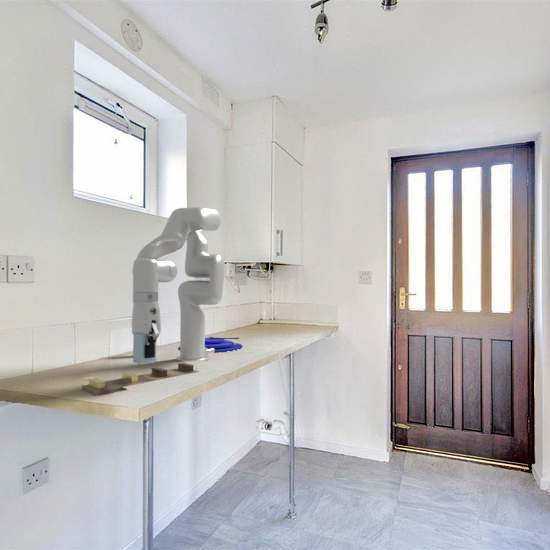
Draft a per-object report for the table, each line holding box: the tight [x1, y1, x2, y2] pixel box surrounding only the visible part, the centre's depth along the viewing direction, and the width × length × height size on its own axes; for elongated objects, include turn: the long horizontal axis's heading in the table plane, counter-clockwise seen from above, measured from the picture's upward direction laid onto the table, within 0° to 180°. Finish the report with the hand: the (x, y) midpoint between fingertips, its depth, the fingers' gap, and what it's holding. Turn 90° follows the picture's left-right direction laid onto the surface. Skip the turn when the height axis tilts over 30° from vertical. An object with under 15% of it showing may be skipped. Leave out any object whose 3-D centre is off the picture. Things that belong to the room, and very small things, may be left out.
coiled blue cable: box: [178, 336, 243, 354], centre depth 189 cm, size 30×6×30 cm
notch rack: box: [81, 362, 200, 396], centre depth 123 cm, size 34×10×3 cm, turn 137°
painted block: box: [132, 332, 157, 365], centre depth 123 cm, size 5×5×9 cm
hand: (144, 355), depth 123 cm, fingers closed on painted block, 5 cm apart
